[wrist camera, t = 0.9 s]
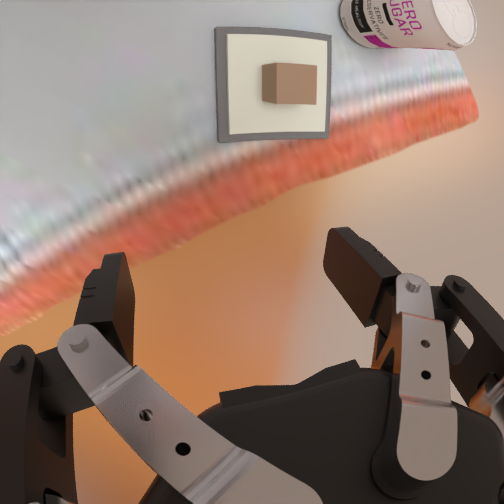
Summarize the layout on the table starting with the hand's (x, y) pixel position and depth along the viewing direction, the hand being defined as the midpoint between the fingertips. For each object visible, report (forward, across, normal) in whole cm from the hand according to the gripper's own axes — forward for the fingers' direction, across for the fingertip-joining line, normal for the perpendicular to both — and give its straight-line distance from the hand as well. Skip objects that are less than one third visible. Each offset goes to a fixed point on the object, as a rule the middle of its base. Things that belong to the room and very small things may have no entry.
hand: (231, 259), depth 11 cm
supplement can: (+24, -21, -17) cm, 36 cm away
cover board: (+22, -10, -6) cm, 25 cm away
